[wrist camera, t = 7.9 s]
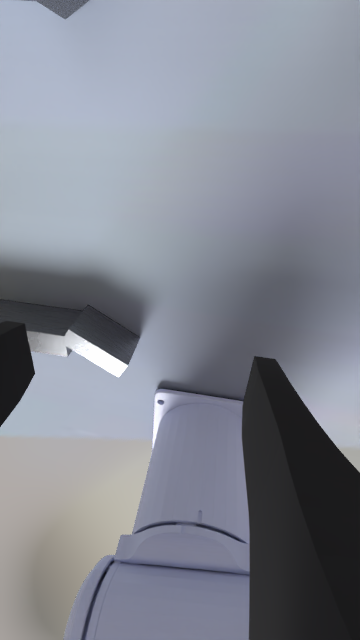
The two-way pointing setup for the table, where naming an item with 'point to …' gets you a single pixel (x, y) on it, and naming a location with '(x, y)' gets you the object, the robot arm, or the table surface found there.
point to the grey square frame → (66, 324)
